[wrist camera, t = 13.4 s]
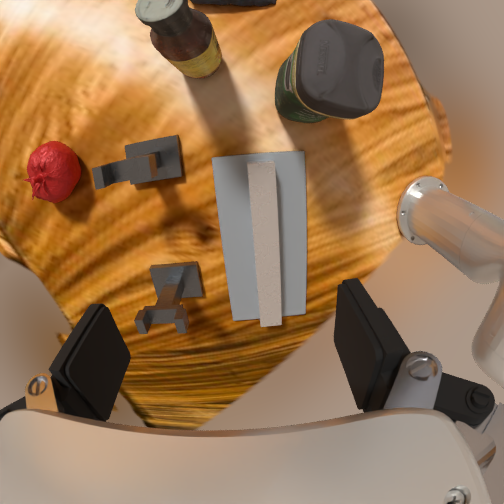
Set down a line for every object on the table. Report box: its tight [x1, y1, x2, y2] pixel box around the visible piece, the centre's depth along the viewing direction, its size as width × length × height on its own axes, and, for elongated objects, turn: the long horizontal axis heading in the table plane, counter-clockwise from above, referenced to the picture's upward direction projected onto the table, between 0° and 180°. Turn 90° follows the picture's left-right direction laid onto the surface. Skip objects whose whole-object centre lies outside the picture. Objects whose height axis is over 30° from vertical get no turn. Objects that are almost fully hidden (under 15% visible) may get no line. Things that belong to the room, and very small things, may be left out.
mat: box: [212, 151, 307, 321], centre depth 43 cm, size 13×28×1 cm, turn 5°
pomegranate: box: [24, 141, 81, 203], centre depth 32 cm, size 10×10×9 cm
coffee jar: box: [275, 20, 384, 123], centre depth 25 cm, size 10×8×19 cm
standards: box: [92, 135, 203, 334], centre depth 35 cm, size 8×26×12 cm, turn 5°
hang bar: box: [247, 160, 282, 327], centre depth 41 cm, size 4×26×4 cm, turn 5°
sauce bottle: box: [135, 0, 222, 78], centre depth 22 cm, size 6×6×20 cm
